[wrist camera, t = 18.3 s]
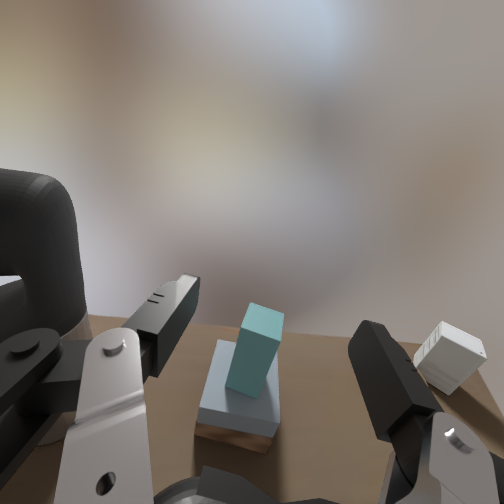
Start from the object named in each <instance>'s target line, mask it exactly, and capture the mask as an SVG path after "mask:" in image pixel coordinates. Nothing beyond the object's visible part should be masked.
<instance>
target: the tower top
mask: <svg viewBox="0 0 504 504" xmlns="http://www.w3.org/2000/svg"><path fill="white" fill-rule="evenodd" d="M235 347H236V343H234V342H229V341H224V340H219V339H218V341H217V345H216V349H215V352H214V356H213V359H212V363H211V367H210V370H209V374H208V377H207V381H206V384H205V388H204V392H203V395H202V399H201V402H200V406H199V412H198V418H197V423H202V424H207V425H212V426H217V427H222V428H227V429H232V430H237V431H242V432H247V433H251V434H256V435H261V436H266V437H271V438H273V436H274V434H275V432H276V430H277V428H278V427H279V425H280V409H279V385H278V362H277V352H276V354H275V357H274V359H273V362H272V364H271V366H270V369H269V371H268V374H267V376H266V379H265V381H264V384H263V386H262V389H261V391H260V393H259V396H258V398H257V399H255V398H253V397H250V396H247V395H245V394H242V393H240V392H237V391H235V390H232V389H230V388H227V387H225V383H226V379H227V376H228V372H229V369H230V365H231V361H232V358H233V354H234V350H235Z"/></svg>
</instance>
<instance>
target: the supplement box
mask: <svg viewBox="0 0 504 504" xmlns="http://www.w3.org/2000/svg"><path fill="white" fill-rule="evenodd" d="M486 360H487V357H486V354H485V351H484V348H483V345H482V342H481V340H480V339H478V338H476V337H474V336H472V335H469V334H467V333H465V332H463V331H461V330H459V329H457V328H455V327H453V326H451V325H449V324H447V323H445V322H443V321H441V323H440V324H439V325H438V326H437V328H436V329H435V330H434V331H433V333H432V334H431V335H430V336H429V338H428V339H427V340H426V341H425V342H424V344H423V345H422V346H421V347H420V348H419V350H418V351H417V352H416V353H415V355H414V361H413V364H414V366H415V367H416V368H417V369H418V370H419V371H420V373H421V374H422V376H423V377H424V379H425V380H426V381H427V382H428V383H430V384H431V385H433V386H434V387H436V388H437V389H439V390H441V391H442V392H444V393H445V394H447V395H448V396H449V395H450V394H451V393H452V392H453V391H454V390H455V389H456V388H458V387H459V386H460V385H461V384H462V383H463V382H464V381H465V380H466V379H467V378H468V377H469V376H470V375H471V374H472V373H473V372H474V371H476V370H477V369H478V368H479V367H480V366H481V365H482V364H483V363H484V362H485V361H486Z"/></svg>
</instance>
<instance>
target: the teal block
mask: <svg viewBox="0 0 504 504" xmlns="http://www.w3.org/2000/svg"><path fill="white" fill-rule="evenodd" d="M283 319H284V314H283V313H280V312H277V311H274V310H271V309H268V308H265V307H262V306H259V305H256V304H254V303H250V305H249V308H248V310H247V313H246V315H245V318H244V320H243V323H242V326H241V329H240V332H239V336H238V339H237V343H236V347H235V350H234V354H233V358H232V361H231V365H230V369H229V372H228V376H227V379H226V383H225V387H227V388H230V389H232V390H235V391H237V392H240V393H242V394H245V395H247V396H250V397H253V398H255V399H257V398H258V396H259V393H260V391H261V389H262V386H263V384H264V381H265V379H266V376H267V374H268V371H269V369H270V366H271V364H272V362H273V359H274V357H275V354H276V352H277V349H278V347H279V344H280V342H281V335H282V327H283Z"/></svg>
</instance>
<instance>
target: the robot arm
mask: <svg viewBox="0 0 504 504" xmlns="http://www.w3.org/2000/svg"><path fill="white" fill-rule="evenodd" d="M14 275H16V276H18V275H19V276H20V277H21V278H22V279H20V280H17V281H14V282H10V283H7V284H5V285H2V286H0V490H1V489H2V488H3V487H4V485H5V484H6V483H7V482H8V481H9V479H10V478H11V477H12V476H13V474H14V473H15V472H16V471H17V469H18V468H19V467H20V466H21V464H22V463H23V462H24V461H25V459H26V458H27V457H28V456H29V454H30V453H31V452H32V451H33V449H34V448H35V447H36V446H37V445H45V444H50V443H53V442H56V441H58V440H61V439H63V438H64V437H65V442H64V447H63V453H62V459H61V464H60V470H59V476H58V481H57V487H56V493H55V499H54V504H339V503H335V502H332V501H328V500H325V499H321V498H318V499H310V500H303V501H295V502H288V503H280V502H278V501H276V500H275V499H273V498H272V497H270V496H269V495H268V494H266V493H265V492H263V491H262V490H261V489H259V488H258V487H256V486H255V485H253V484H252V483H251V482H249V481H248V480H246V479H245V478H244V477H242V476H241V475H237V474H234V473H230V472H227V471H223V470H220V469H216V468H213V467H209V466H206V465H203V468H202V472H201V476H199V477H191V478H188V479H184V480H181V481H179V482H177V483H174V484H172V485H170V486H169V487H167V488H166V489H164V490H162V491H161V492H159V493H158V494H157V495H156V496H155V497H153V489H152V478H151V466H150V455H149V444H148V432H147V421H146V409H145V399H144V392H143V384H144V383H145V381H146V379H147V378H148V376H153V377H156V378H158V376H159V374H160V373H161V371H162V369H163V367H164V366H165V364H166V362H167V360H168V359H169V357H170V355H171V353H172V352H173V350H174V348H175V346H176V345H177V343H178V341H179V339H180V337H181V336H182V334H183V332H184V330H185V329H186V327H187V325H188V323H189V322H190V320H191V318H192V316H193V315H194V313H195V310H196V307H197V303H198V296H199V287H200V277H197V276H193V275H189V274H183V275H182V276H181V278H180V279H179V280H178V281H177V282H174V281H169V282H167V283H165V284H163V285H161V286H160V287H159V288H158V289H157V290H156V291H155V292H154V294H153V295H151V296H150V297H149V298H148V300H147V301H146V302H144V304H143V305H142V306H141V307H140V308H139V309H138V310H137V311H136V312H135V313H134V314H133V315H132V316H131V317H130V318H129V319H128V320H127V321H126V322H125V323H124V324H123V325H122V326H121V327H120V328H114V329H110V330H108V331H105V332H103V333H101V334H99V335H98V336H97V337H95V338H94V339H93V337H92V332H91V327H90V322H89V317H88V312H87V306H86V301H85V295H84V282H83V273H82V268H81V261H80V253H79V243H78V233H77V223H76V217H75V211H74V207H73V204H72V200H71V198H70V196H69V194H68V192H67V190H66V189H65V188H64V186H63V185H62V184H61V183H60V182H59V181H58V180H56V179H55V178H52V177H50V176H47V175H43V174H38V173H31V172H24V171H17V170H8V169H1V168H0V276H14ZM348 354H349V358H350V361H351V364H352V366H353V369H354V372H355V375H356V378H357V381H358V384H359V387H360V390H361V393H362V396H363V399H364V401H365V404H366V407H367V410H368V413H369V416H370V419H371V422H372V425H373V428H374V431H375V434H376V436H377V439H379V440H382V441H386V442H389V443H392V445H393V448H394V450H393V451H392V452H391V454H390V456H389V460H388V465H387V469H386V473H385V477H384V481H383V485H382V489H381V494H380V498H379V502H378V504H504V459H502V458H500V457H498V456H497V455H495V454H493V453H491V452H489V451H488V450H487V448H486V447H485V445H484V444H483V442H482V441H481V440H480V439H479V438H478V436H477V435H476V434H475V433H474V432H473V431H472V430H471V429H470V428H468V427H467V426H466V425H465V424H464V423H462V422H461V421H460V420H458V419H457V418H455V417H453V416H451V415H449V414H447V413H445V412H444V411H443V409H442V407H441V406H440V404H439V403H438V401H437V400H436V398H435V397H434V395H433V393H432V392H431V390H430V389H429V387H428V386H427V384H426V383H425V381H424V380H423V378H422V376H421V375H420V373H418V372H417V371H418V370H417V369H416V367H415V366H414V364H413V363H411V359H410V358H409V356H408V355H407V353H406V352H405V350H404V349H403V348H402V347H401V346H400V345H399V344H398V343H397V342H396V341H395V340H394V339H393V338H392V337H391V336H390V334H389V332H388V331H387V329H386V328H385V326H384V325H382V324H379V323H376V322H372V321H368V320H364V321H362V322H361V324H360V325H359V327H358V329H357V330H356V332H355V334H354V335H353V337H352V339H351V340H350V342H349V345H348Z"/></svg>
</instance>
